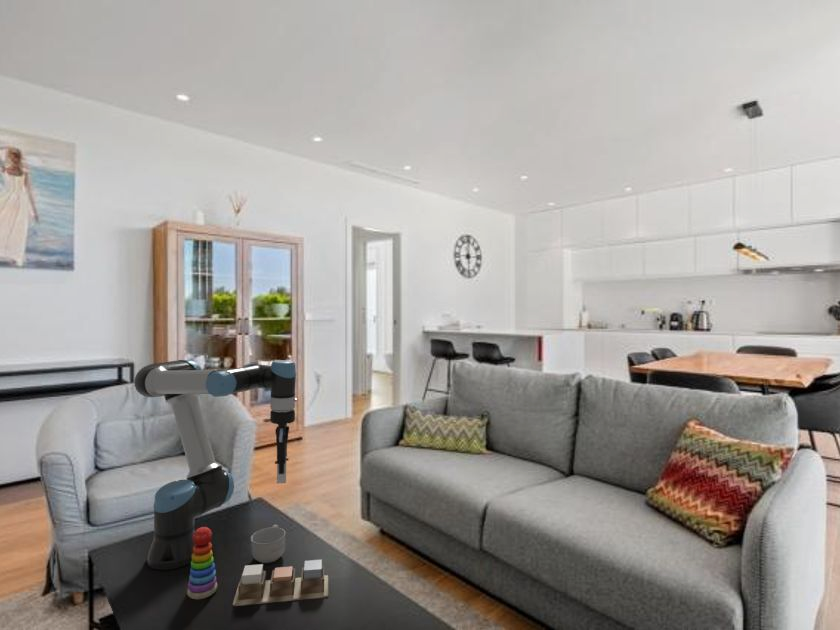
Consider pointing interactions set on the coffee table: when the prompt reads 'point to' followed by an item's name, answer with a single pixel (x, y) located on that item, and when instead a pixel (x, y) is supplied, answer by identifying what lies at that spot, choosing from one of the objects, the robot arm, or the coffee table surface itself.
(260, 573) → the button cream
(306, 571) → the button slate
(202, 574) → the stacking toy
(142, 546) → the coffee table surface
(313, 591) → the button board
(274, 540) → the teacup
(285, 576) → the button terracotta
